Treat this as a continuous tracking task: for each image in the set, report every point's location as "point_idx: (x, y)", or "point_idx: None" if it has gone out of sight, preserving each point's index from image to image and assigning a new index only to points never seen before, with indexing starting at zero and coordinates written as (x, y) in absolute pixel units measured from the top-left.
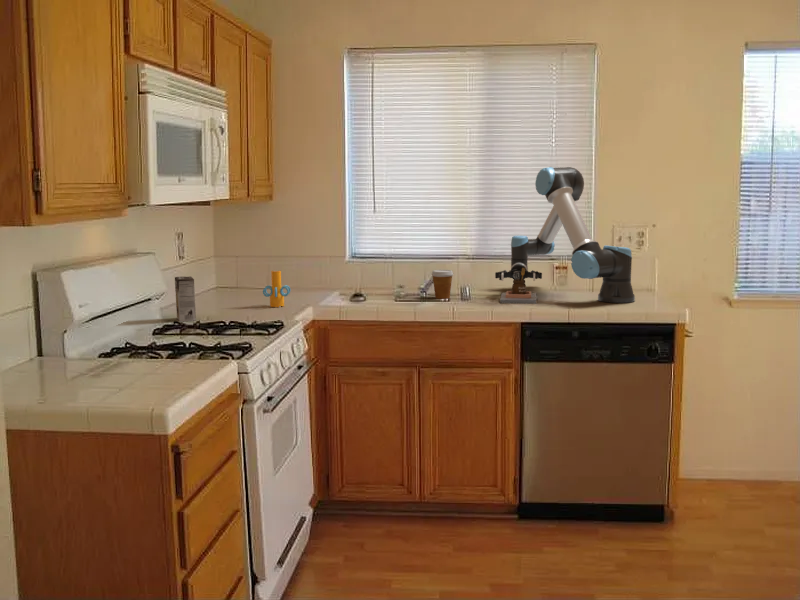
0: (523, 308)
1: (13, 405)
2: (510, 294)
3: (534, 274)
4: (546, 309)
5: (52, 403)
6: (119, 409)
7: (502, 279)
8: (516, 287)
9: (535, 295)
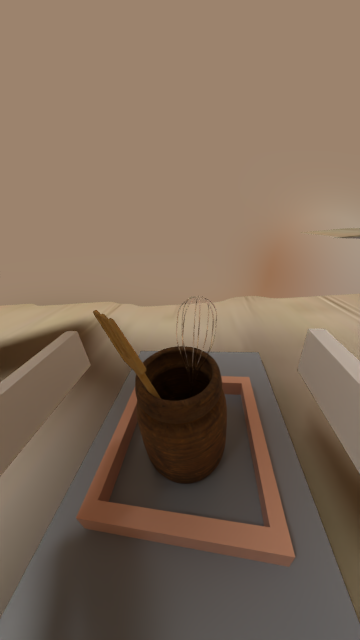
0: (188, 316)
1: (347, 228)
2: (227, 376)
3: (65, 335)
4: (147, 313)
5: (338, 229)
6: (311, 231)
7: (304, 362)
8: (199, 374)
9: (83, 469)
